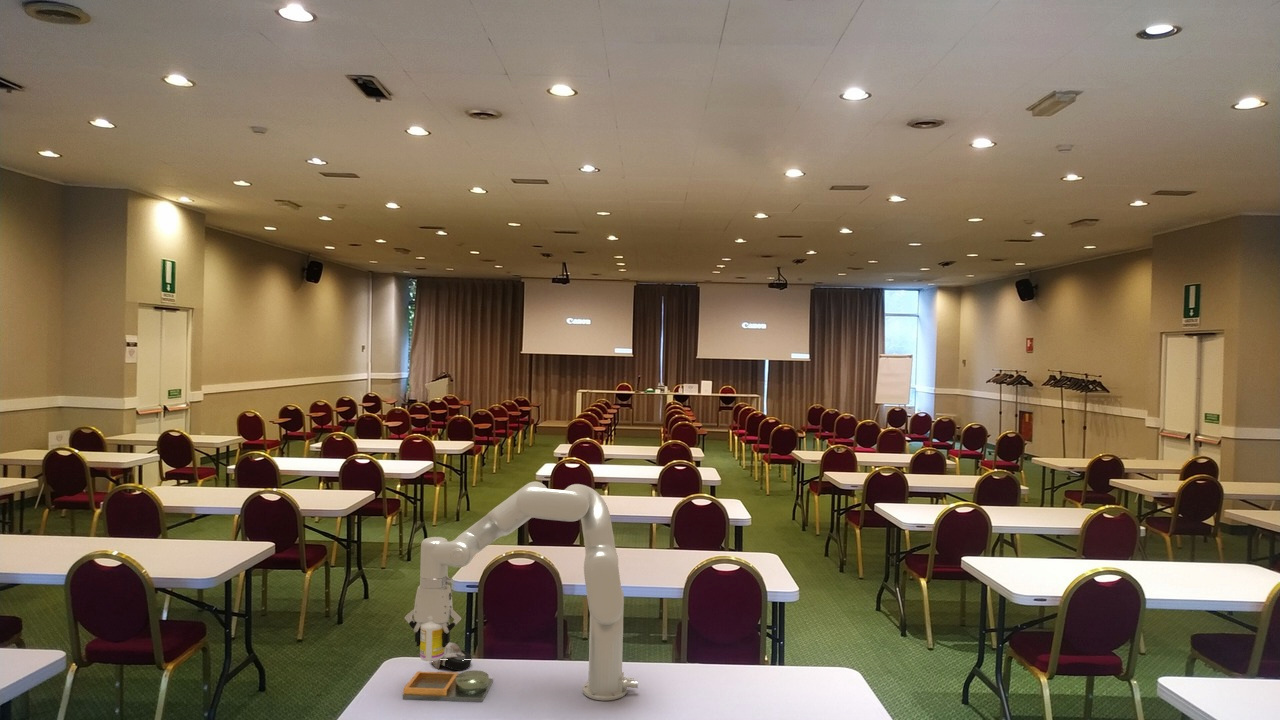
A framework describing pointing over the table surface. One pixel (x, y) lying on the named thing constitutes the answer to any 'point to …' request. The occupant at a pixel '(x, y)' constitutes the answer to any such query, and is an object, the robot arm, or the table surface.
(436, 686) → the grey base plate
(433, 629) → the supplement bottle
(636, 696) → the table surface
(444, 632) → the robot arm
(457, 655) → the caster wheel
